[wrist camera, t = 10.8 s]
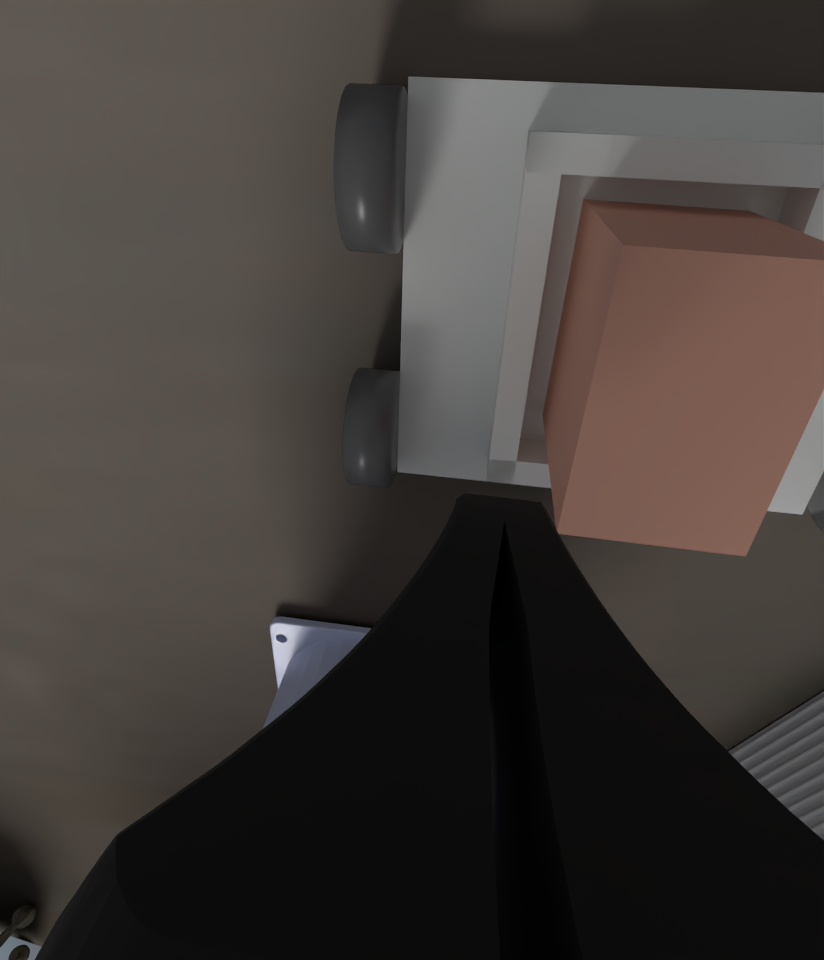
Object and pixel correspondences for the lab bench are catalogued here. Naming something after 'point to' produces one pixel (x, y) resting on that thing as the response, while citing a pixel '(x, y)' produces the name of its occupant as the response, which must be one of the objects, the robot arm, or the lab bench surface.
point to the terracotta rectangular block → (681, 373)
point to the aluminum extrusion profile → (791, 761)
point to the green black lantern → (19, 920)
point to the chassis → (535, 245)
